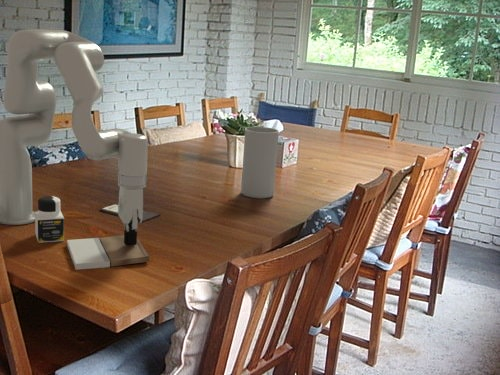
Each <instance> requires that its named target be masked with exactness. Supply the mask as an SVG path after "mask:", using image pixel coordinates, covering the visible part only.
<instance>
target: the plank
mask: <svg viewBox="0 0 500 375" xmlns="http://www.w3.org/2000/svg"><path fill="white" fill-rule="evenodd" d="M98 238H99V240H100V242H101V244H102V246H103V248H104V250H105V252H106V254H107V256H108V258H109V260H110V267H118V266H124V265H131V264H140V263H145V262H148V263H149V262H150V255H149V253H148V252H147V251H146V249H145V247H144V246H143V245H142V243H141V242H140V240H139V239H138V238H137V244H136V245H127V246H126V245H125V244H124V234H121V235H113V236H105V237H98Z"/></svg>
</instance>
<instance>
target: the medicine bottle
mask: <svg viewBox="0 0 500 375" xmlns="http://www.w3.org/2000/svg"><path fill="white" fill-rule="evenodd" d="M34 212H35V221H34V224H35V226H34V227H35V228H34V229H35V233H34V234H35V237H36V240H37V243H40V244H42V243H54V242H64V241H65V217H64V215H63V213H62V211H61V199H60V198H59V197H57V196H54V195H47V196H43V197H40V198H39V199H38V200H37V211H34Z"/></svg>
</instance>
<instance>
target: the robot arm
mask: <svg viewBox="0 0 500 375" xmlns="http://www.w3.org/2000/svg"><path fill="white" fill-rule="evenodd" d="M6 50H7V52H6V53H7V69H6V77H5V82H4V84H5V86H4V91H3V107H4V109H5V110H6V111H7V112H8V113H10V114H12V115H16V116H8V117H5V118H2V119H0V224H2V225H9V226H10V225H11V226H16V225H17V226H18V225H26V224H31V223H33V222H34V223H35V212H36V211H34V209H33V208H34V207H33V168H32V166H33V165H32V164H33V163H32V160H31V157H30V155H29V154H28V152H27V151H26V150H27V149H26V148H28V147H35V146H39V145H43V144H45V143H47V142H48V140H50V137H51V135H52V132H53V131H52V130H53V126H54V125H53V124H54V119H55V112H56V108H57V95H56V91H55V88H54V87H53V86H52V85H51V83H50V82H47V81H45V80H41V79H39V66H38V63H37V61H54V62H55V64H56V67H57V70H58V72H59V73H60V76H61V77H62V80H63V82H64V83H65V85H66V88H67V89H68V92H69V94H70V96H71V98H72V100H73V108H72V113H71V127H72V131H73V134H74V136H75V139H76V141H77V143H78V145H79V147H80V149H81V150H82V152H83V153H84V155H85V156H86V157H87V158H89V160H93V161H102V160H105V159H111V158H116V157H118V160H117V161H118V163H117V164H118V165H117V169H118V170H117V186H118V187H119V192H118V203H117V204H118V215H119V216H118V217H119V218H120V220H121V221H122V223H123V224H124V231H123V235H124V244H125V245H126V246H127V245H136V244H137V239H138V225H139V224H141V223H143V222H142V217H143V210H144V189H143V188H146V187H147V176H148V175H147V172H148V148H149V147H148V145H149V142H148V138H147V136H145V135H144V134H141V133H132V132H130V131H127V130H126V129H122V128H119V127H118V128H110V129H104V130H98V129H97V127H96V126H95V123H94V120H93V116H92V107H93V105H94V103H95V102H97V101H98V100H100V98H101V97H102V96H103V95H104V89H103V86H102V84H101V82H100V80H99V78H98V76H97V74H96V72H99V71H100V70H101V69H102V68H103V66H104V63H105V56H104V54H103V51H102V49H101V48H100V47H99V46H98V44H96V43H94V42H93V41H91V40H89V39H87V38H85V37H82V36H79V35H77V34H76V33H73V32H71V31H67V30H64V29H45V28H43V29H42V28H40V29H39V28H31V29H30V28H27V29H20V30H17V31H15V32H14V33H12V35H11V36H10V37H9V39H8V43H7V49H6ZM38 79H39V80H38Z"/></svg>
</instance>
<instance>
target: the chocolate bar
mask: <svg viewBox="0 0 500 375" xmlns="http://www.w3.org/2000/svg"><path fill="white" fill-rule="evenodd" d="M118 204H119V203H114V204H112V205H110V206H109V205H108V206H105V207H103V208H100V209H99V212H102V213H106V214H109V215H112V216H118V217H119V215H118ZM158 216H159V217H161V214H160V213H157V212H152V211H148V210H145V209H143V217H142V222H141V223H145V221H146V222H147V221H150V219H151V220H153V219H156V218H158ZM155 217H156V218H155Z"/></svg>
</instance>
